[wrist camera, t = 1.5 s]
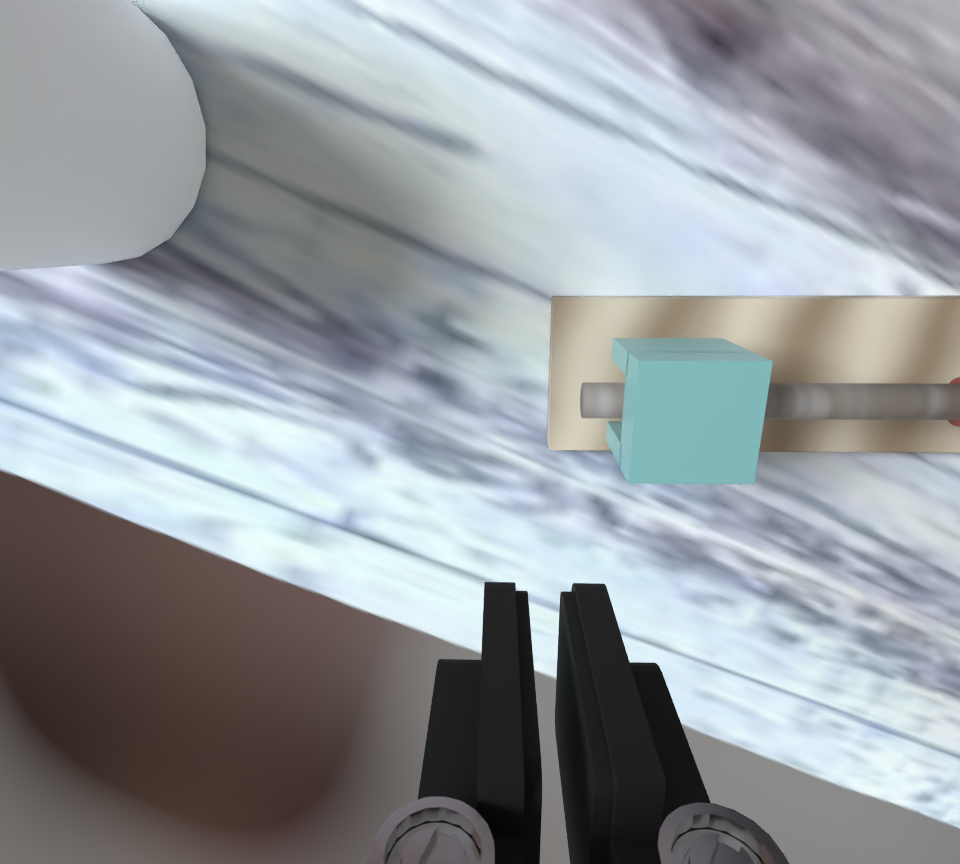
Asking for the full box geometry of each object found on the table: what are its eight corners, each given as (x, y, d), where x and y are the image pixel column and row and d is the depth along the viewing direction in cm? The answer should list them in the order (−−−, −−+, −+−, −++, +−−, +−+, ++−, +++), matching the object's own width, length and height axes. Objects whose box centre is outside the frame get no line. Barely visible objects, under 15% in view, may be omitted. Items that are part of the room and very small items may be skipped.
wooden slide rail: (1064, 295, 30) (1269, 317, 22) (1020, 443, 33) (1190, 511, 25) (551, 296, 31) (570, 317, 23) (547, 441, 34) (562, 505, 25)
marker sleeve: (722, 337, 27) (772, 361, 22) (709, 441, 29) (754, 484, 24) (612, 337, 27) (638, 360, 22) (605, 440, 29) (628, 483, 24)
